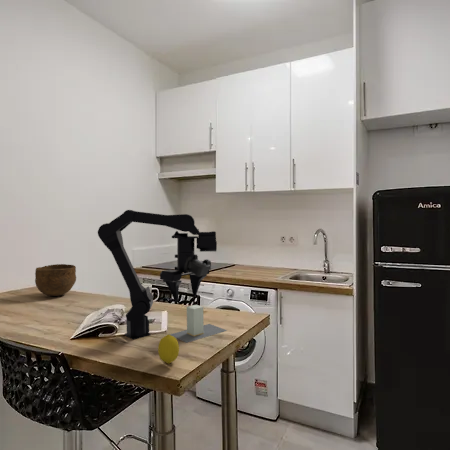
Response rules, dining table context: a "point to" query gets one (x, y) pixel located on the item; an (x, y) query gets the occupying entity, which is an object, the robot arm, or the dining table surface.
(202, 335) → the mat
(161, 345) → the lemon
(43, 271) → the bowl
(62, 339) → the dining table surface
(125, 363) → the dining table surface
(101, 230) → the robot arm
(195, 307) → the block
